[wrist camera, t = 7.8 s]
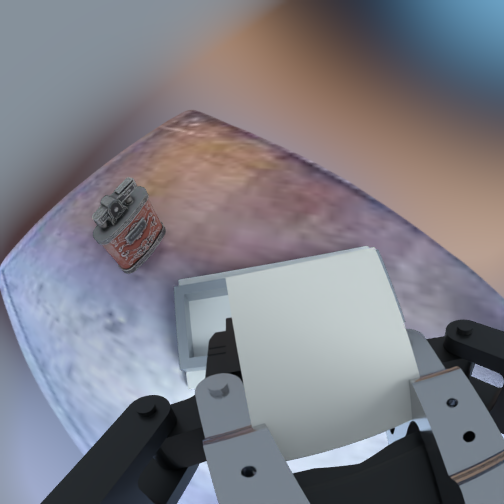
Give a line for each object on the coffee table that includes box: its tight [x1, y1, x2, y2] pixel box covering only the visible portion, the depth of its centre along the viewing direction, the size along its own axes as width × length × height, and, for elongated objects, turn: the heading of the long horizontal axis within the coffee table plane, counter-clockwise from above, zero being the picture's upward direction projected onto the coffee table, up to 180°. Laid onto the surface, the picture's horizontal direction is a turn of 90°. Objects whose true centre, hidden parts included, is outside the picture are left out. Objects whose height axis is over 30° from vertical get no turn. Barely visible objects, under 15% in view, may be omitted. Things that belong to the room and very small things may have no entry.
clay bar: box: [226, 247, 420, 461], centre depth 9 cm, size 4×4×10 cm
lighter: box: [92, 177, 166, 274], centre depth 30 cm, size 8×3×10 cm, turn 149°
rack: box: [174, 246, 405, 390], centre depth 28 cm, size 22×12×3 cm, turn 99°
